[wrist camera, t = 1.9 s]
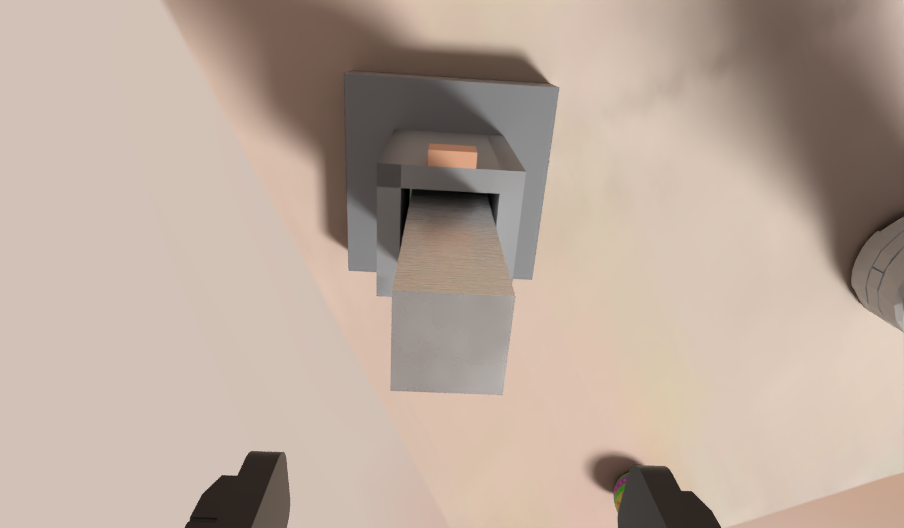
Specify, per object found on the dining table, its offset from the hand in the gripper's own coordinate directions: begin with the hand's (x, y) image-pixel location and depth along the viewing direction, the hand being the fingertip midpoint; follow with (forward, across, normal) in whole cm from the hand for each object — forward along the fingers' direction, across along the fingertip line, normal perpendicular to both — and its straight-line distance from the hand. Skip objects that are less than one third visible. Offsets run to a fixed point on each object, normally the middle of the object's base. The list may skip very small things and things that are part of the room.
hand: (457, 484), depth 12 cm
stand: (+29, 0, 0) cm, 29 cm away
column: (+26, 0, 0) cm, 26 cm away
